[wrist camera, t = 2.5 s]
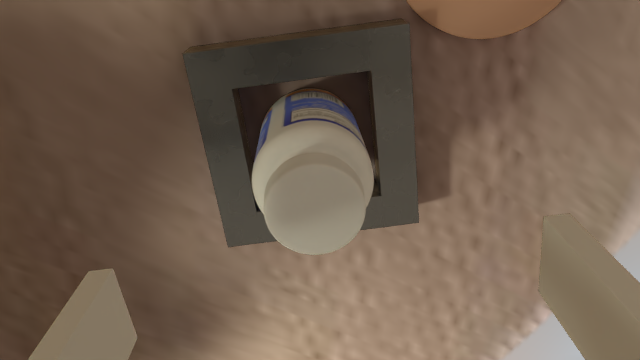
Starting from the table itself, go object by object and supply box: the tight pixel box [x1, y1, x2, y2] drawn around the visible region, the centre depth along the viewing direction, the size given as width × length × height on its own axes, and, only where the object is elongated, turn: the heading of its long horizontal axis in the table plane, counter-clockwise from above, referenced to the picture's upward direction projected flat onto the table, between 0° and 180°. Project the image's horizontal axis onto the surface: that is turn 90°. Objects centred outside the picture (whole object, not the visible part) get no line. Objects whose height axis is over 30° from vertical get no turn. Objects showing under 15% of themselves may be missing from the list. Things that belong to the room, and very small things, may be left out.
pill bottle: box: [252, 88, 374, 255], centre depth 24 cm, size 5×5×10 cm
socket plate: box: [183, 19, 419, 247], centre depth 27 cm, size 11×11×2 cm
